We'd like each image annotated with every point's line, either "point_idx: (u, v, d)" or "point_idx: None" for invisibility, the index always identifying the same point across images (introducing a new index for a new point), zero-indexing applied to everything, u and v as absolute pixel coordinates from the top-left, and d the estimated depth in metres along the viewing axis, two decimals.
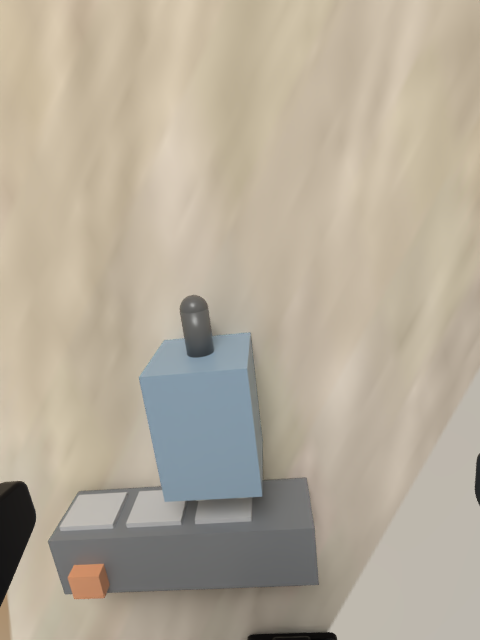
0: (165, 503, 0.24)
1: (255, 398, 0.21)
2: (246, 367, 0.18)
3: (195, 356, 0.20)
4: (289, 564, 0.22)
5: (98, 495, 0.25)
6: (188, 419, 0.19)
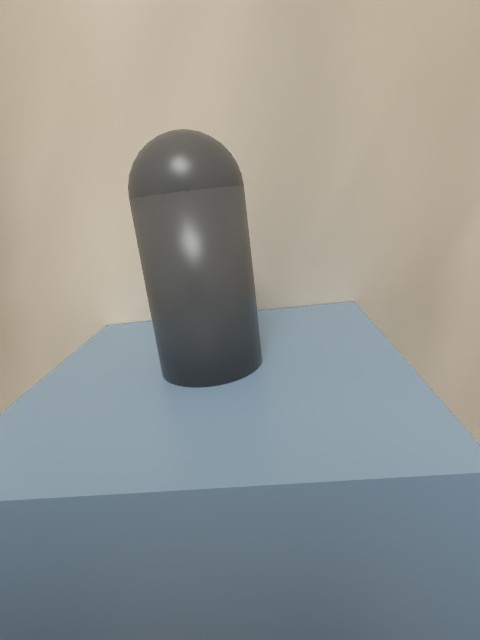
0: None
1: None
2: None
3: (191, 383, 0.05)
4: None
5: None
6: None
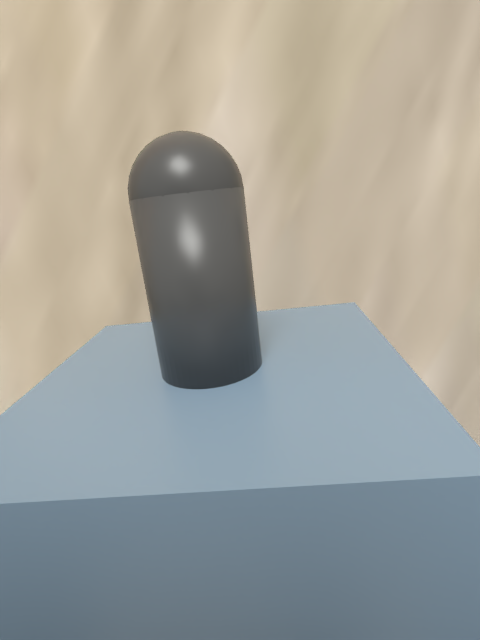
0: None
1: None
2: None
3: (191, 385, 0.05)
4: None
5: None
6: None
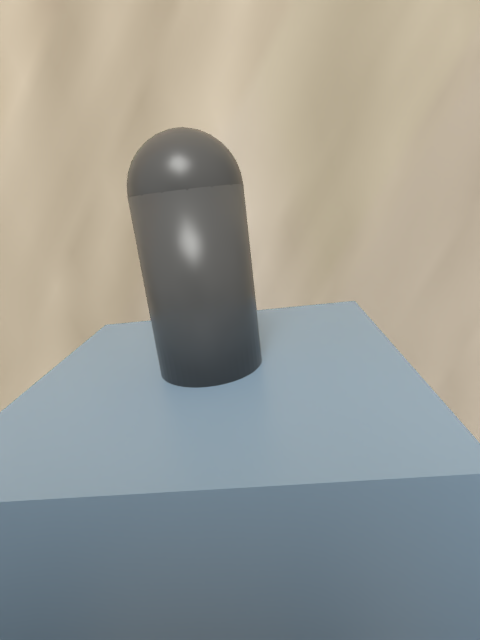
0: None
1: None
2: None
3: (191, 383, 0.05)
4: None
5: None
6: None
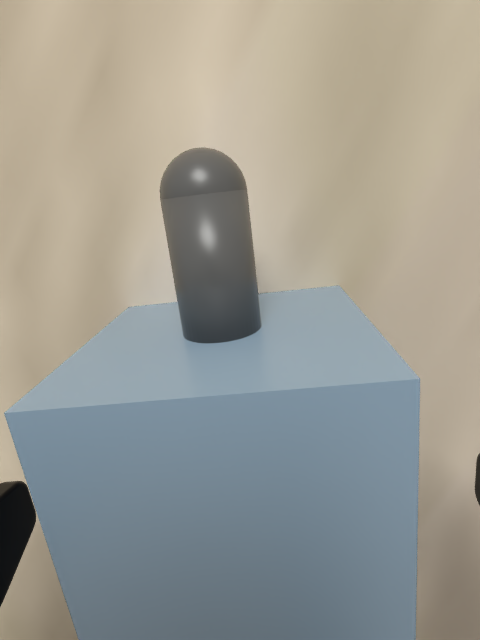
0: None
1: None
2: (412, 374, 0.05)
3: (207, 341, 0.07)
4: None
5: None
6: (187, 553, 0.05)
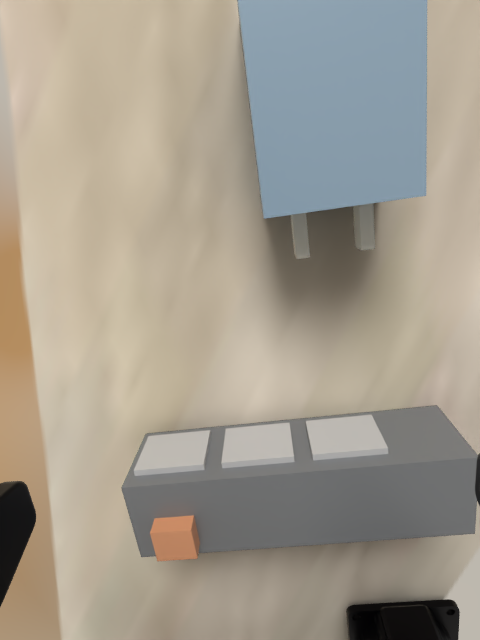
0: (265, 439, 0.19)
1: None
2: None
3: None
4: (439, 508, 0.17)
5: (174, 435, 0.20)
6: (313, 37, 0.11)
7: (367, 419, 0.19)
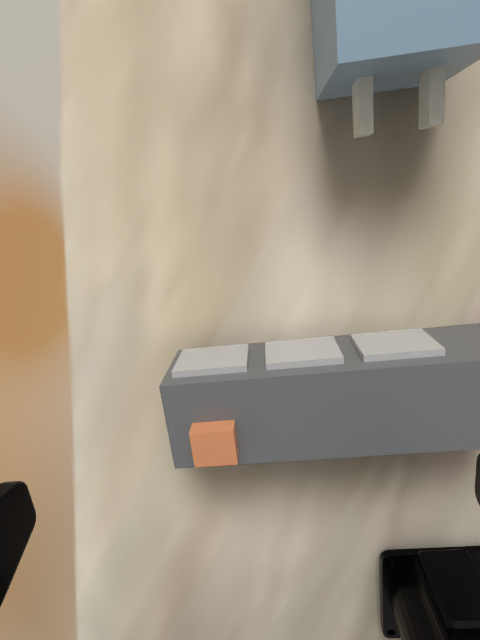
0: (309, 347, 0.18)
1: None
2: None
3: None
4: None
5: (210, 347, 0.19)
6: None
7: (417, 331, 0.18)
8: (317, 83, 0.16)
